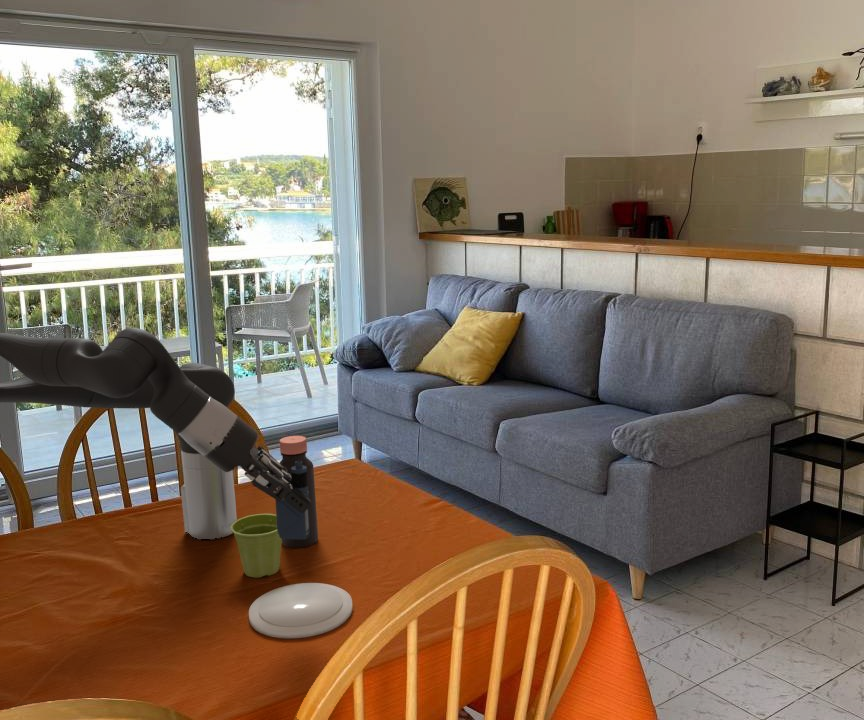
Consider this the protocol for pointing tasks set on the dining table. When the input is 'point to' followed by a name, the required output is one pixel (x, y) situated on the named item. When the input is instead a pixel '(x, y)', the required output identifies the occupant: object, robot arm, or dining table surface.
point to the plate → (300, 610)
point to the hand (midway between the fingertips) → (305, 502)
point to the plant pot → (258, 544)
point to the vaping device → (290, 518)
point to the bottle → (296, 451)
